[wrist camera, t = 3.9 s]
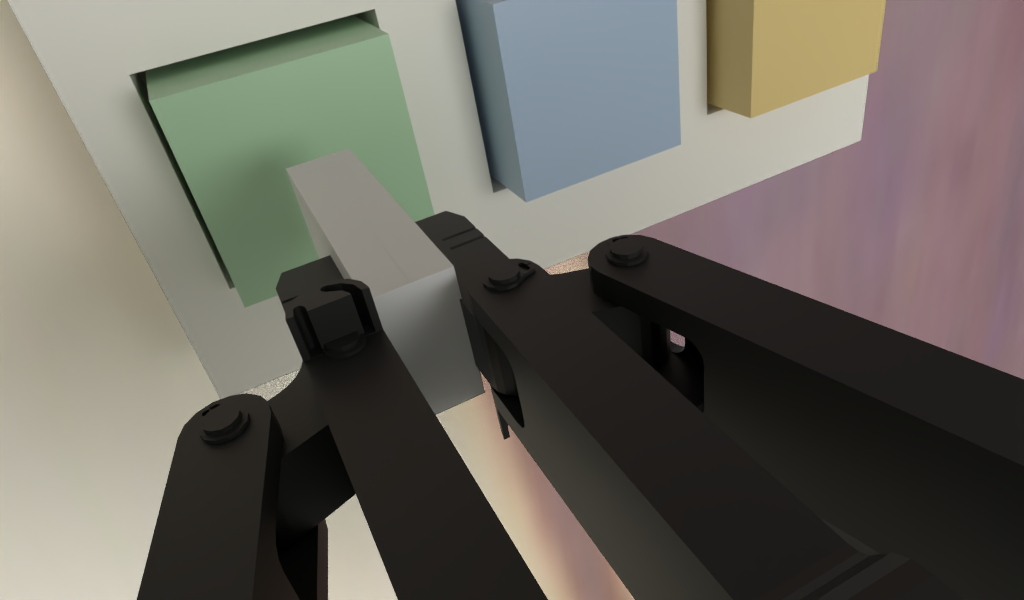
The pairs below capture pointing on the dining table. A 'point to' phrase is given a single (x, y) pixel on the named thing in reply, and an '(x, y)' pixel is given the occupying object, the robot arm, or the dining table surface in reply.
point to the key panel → (438, 133)
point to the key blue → (571, 86)
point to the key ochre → (787, 49)
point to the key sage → (284, 137)
